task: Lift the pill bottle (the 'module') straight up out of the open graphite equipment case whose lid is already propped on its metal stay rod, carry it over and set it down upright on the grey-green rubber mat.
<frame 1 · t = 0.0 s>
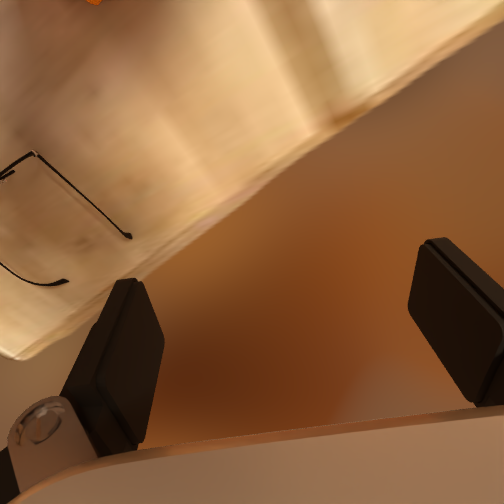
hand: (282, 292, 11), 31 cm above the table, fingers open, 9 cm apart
eyeglasses: (56, 220, 44), on the table
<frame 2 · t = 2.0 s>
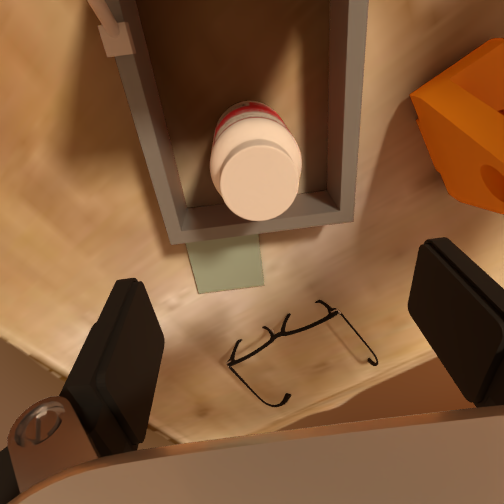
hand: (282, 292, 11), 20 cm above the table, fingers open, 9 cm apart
case: (245, 100, 26), on the table
bracket: (464, 120, 29), on the table
pill bottle: (249, 137, 28), resting in case
eyeglasses: (303, 348, 45), on the table
mat: (226, 260, 35), on the table
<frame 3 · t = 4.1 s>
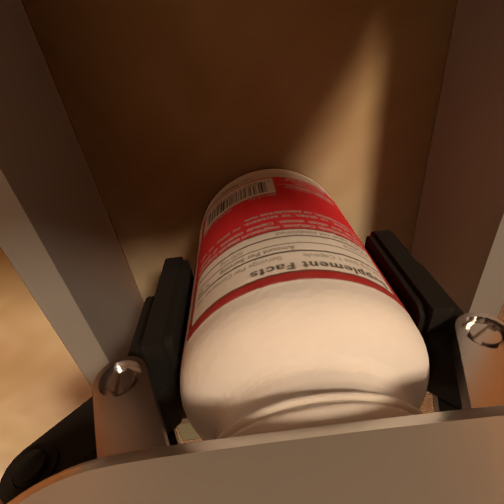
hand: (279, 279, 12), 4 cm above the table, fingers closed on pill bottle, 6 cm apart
case: (262, 166, 13), on the table
pill bottle: (268, 228, 15), resting in case, touching gripper
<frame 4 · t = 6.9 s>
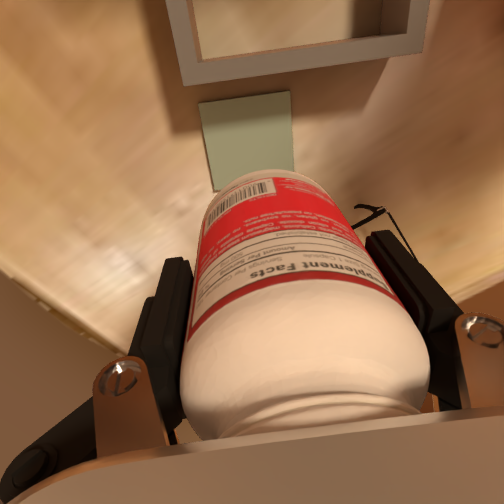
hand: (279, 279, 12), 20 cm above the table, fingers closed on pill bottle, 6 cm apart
pill bottle: (268, 228, 15), point 16 cm above the table, touching gripper
eyeglasses: (334, 274, 38), on the table
mat: (249, 143, 28), on the table
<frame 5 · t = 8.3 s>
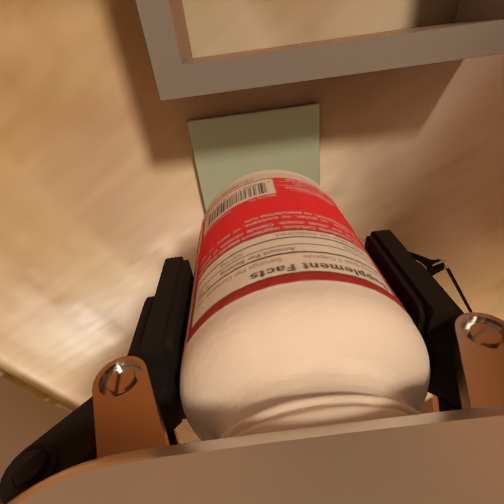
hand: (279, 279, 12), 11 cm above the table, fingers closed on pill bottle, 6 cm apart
pill bottle: (268, 228, 15), point 7 cm above the table, touching gripper
eyeglasses: (363, 331, 30), on the table
mat: (259, 174, 20), on the table
when the fingers open (5 cm above the table, at t = 9.7 s): pill bottle stays where it is, resting on mat.
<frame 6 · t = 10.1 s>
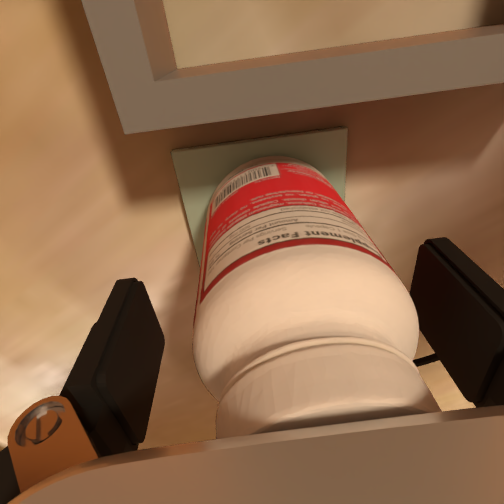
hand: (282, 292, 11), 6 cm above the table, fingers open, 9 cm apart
pill bottle: (271, 213, 16), resting on mat
mat: (266, 215, 16), on the table
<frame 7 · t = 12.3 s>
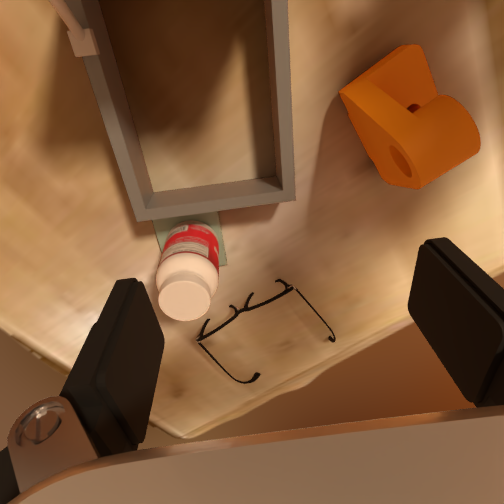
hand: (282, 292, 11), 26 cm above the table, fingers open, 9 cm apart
case: (199, 96, 31), on the table
bracket: (389, 114, 34), on the table
pill bottle: (193, 240, 39), resting on mat
eyeglasses: (268, 327, 48), on the table
mat: (191, 241, 39), on the table
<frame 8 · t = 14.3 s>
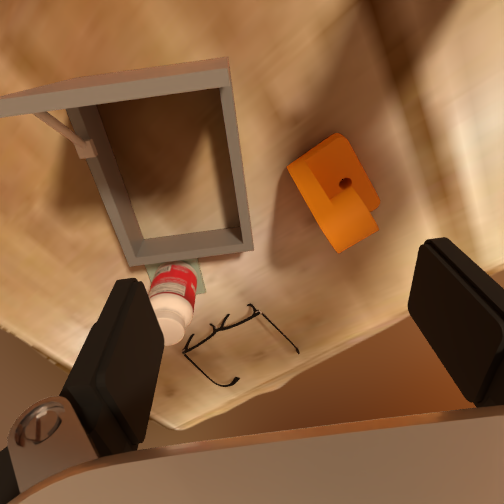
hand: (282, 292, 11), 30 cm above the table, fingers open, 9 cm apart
case: (177, 170, 39), on the table
bracket: (331, 180, 41), on the table
pill bottle: (177, 274, 48), resting on mat
eyeglasses: (244, 340, 57), on the table
mat: (175, 275, 48), on the table
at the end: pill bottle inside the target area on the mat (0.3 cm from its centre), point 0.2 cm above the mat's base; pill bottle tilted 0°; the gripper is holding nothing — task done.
